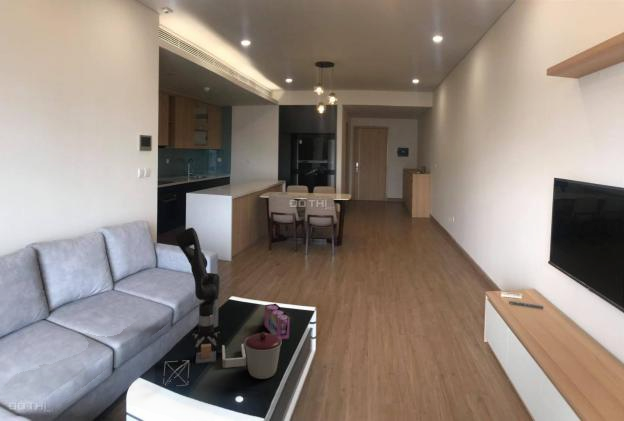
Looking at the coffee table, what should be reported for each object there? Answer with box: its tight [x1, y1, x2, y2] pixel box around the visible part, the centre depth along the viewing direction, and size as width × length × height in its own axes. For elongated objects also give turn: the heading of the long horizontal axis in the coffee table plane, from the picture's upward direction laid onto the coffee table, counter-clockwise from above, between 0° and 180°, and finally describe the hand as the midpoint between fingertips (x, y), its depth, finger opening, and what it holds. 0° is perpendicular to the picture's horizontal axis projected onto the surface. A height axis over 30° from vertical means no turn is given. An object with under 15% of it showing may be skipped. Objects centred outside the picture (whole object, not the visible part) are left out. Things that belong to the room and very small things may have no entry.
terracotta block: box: [200, 343, 212, 358], centre depth 210 cm, size 5×5×5 cm
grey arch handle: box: [221, 343, 247, 369], centre depth 209 cm, size 16×11×4 cm
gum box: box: [264, 303, 290, 340], centre depth 242 cm, size 24×8×14 cm, turn 26°
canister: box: [243, 331, 283, 380], centre depth 195 cm, size 18×18×21 cm
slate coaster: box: [195, 350, 217, 364], centre depth 209 cm, size 10×10×1 cm
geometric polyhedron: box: [162, 359, 190, 387], centre depth 185 cm, size 12×11×9 cm
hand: (206, 352), depth 209 cm, fingers open, 8 cm apart
